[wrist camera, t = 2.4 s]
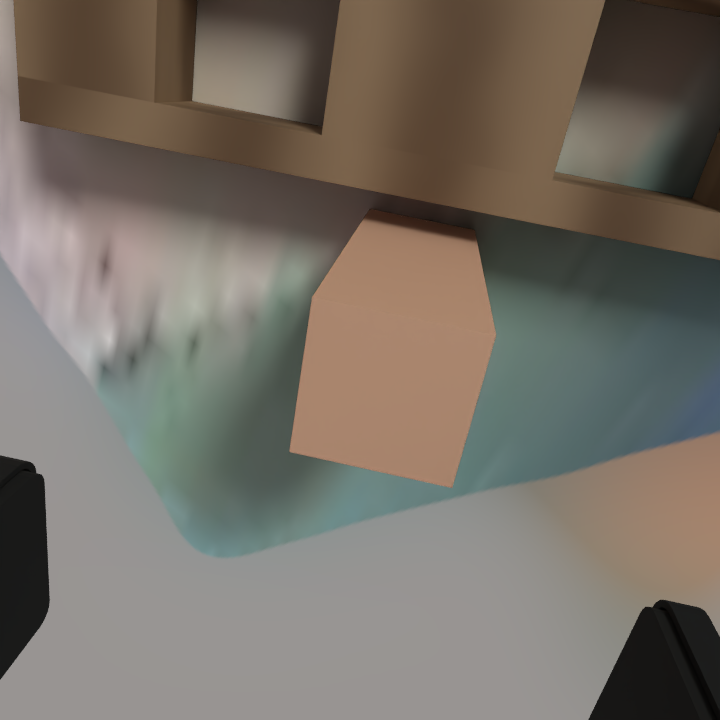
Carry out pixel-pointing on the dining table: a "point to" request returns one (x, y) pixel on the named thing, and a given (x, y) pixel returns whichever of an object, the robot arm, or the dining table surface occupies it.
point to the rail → (373, 106)
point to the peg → (396, 350)
